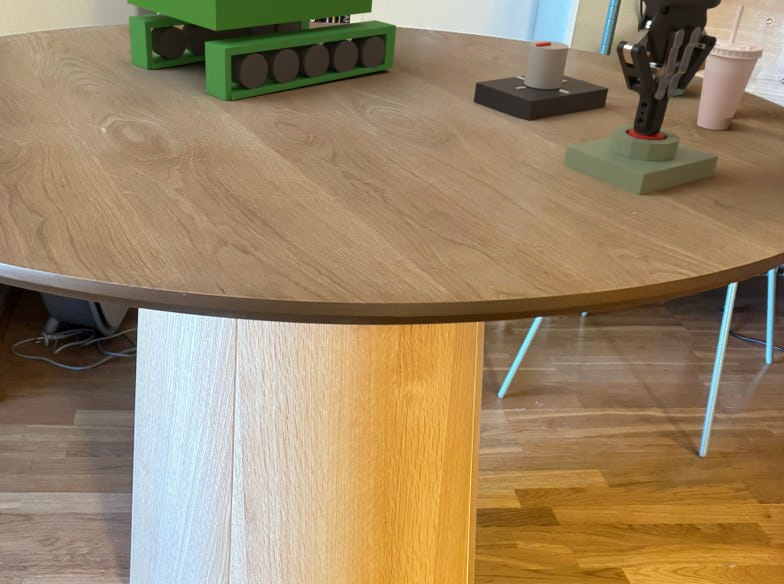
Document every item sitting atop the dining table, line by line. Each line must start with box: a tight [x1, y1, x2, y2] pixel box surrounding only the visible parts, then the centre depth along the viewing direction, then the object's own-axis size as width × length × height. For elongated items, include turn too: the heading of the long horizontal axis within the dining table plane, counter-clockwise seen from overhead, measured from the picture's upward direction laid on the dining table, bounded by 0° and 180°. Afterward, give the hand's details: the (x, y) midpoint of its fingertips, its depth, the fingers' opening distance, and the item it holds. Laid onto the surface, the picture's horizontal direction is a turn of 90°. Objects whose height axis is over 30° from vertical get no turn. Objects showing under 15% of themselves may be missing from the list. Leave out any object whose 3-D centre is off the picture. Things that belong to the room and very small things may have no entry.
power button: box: [628, 128, 665, 140], centre depth 92 cm, size 4×4×2 cm
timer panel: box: [473, 74, 609, 122], centre depth 114 cm, size 14×10×3 cm
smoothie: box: [696, 4, 765, 131], centre depth 106 cm, size 6×6×14 cm
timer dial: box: [524, 40, 569, 90], centre depth 112 cm, size 5×5×5 cm
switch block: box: [563, 124, 719, 196], centre depth 92 cm, size 12×10×4 cm
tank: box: [126, 0, 397, 101], centre depth 124 cm, size 24×35×16 cm
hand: (646, 132), depth 91 cm, fingers closed
